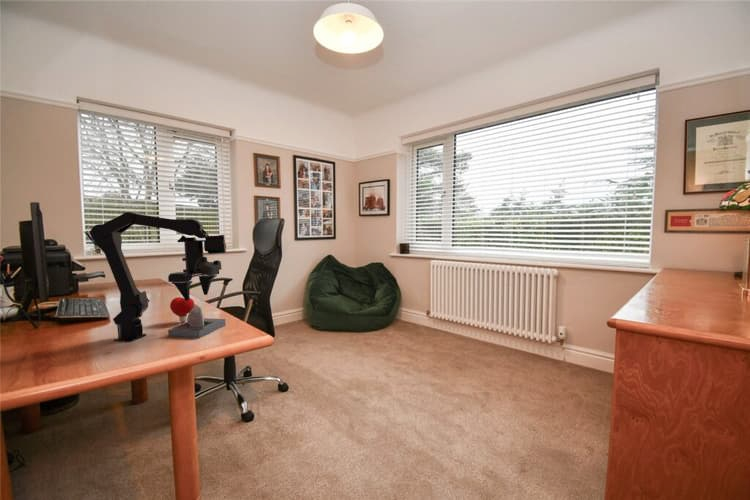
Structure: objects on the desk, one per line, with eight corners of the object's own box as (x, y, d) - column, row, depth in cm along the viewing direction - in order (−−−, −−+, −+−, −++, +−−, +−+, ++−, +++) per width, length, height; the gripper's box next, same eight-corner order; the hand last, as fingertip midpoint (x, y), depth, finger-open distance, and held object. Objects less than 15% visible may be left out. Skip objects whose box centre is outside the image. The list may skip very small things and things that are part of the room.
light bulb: (166, 324, 122) (164, 299, 121) (180, 319, 129) (178, 295, 128) (187, 325, 120) (185, 299, 120) (200, 320, 127) (198, 295, 127)
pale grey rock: (186, 332, 112) (184, 305, 111) (193, 329, 115) (191, 303, 115) (201, 333, 111) (200, 305, 110) (207, 330, 115) (206, 303, 114)
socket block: (168, 336, 108) (168, 329, 108) (197, 324, 122) (197, 318, 122) (199, 338, 106) (199, 331, 106) (225, 325, 120) (225, 319, 120)
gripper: (195, 257, 101) (198, 304, 103) (230, 252, 120) (232, 292, 121) (165, 257, 103) (168, 303, 104) (204, 252, 122) (207, 292, 123)
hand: (196, 297), depth 113 cm, fingers open, 9 cm apart
